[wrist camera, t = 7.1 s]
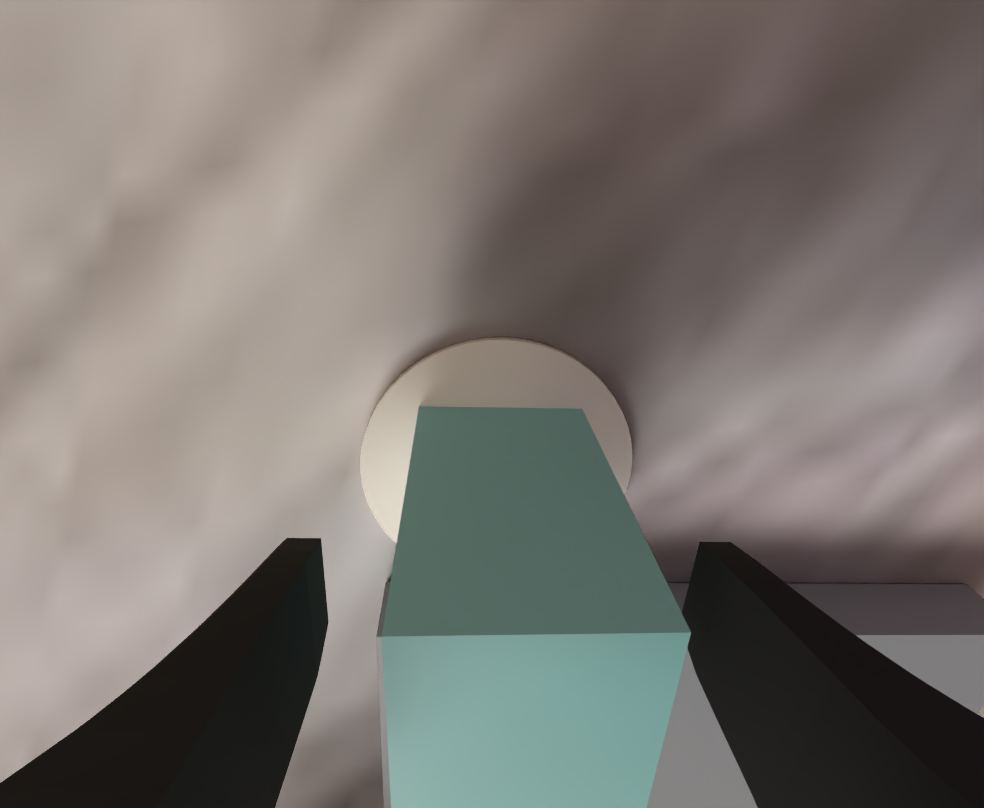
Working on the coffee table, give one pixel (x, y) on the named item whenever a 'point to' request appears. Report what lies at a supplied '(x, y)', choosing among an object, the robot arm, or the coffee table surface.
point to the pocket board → (859, 608)
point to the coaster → (482, 383)
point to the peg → (523, 621)
